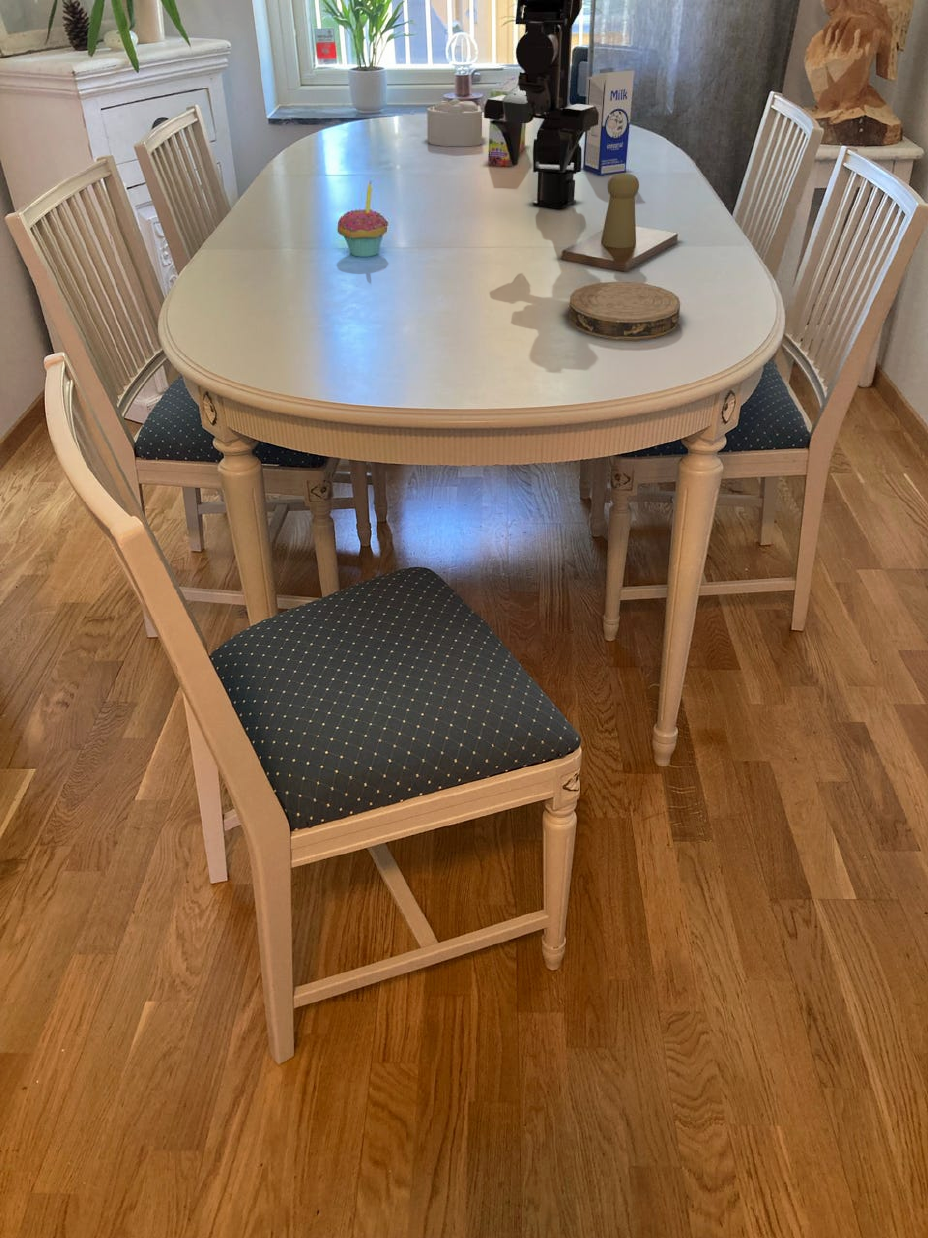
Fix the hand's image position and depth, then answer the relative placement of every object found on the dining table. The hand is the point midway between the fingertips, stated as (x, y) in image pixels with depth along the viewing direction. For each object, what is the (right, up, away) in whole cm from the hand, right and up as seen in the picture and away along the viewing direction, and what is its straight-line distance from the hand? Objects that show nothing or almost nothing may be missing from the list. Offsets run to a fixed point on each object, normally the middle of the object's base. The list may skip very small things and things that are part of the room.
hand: (538, 168), depth 173 cm
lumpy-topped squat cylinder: (-15, +40, +78) cm, 89 cm away
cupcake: (-30, -12, +6) cm, 33 cm away
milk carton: (+18, +23, +54) cm, 61 cm away
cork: (+14, -11, +5) cm, 18 cm away
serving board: (+15, -11, +6) cm, 20 cm away
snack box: (-2, +31, +65) cm, 72 cm away
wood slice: (+11, -31, -21) cm, 39 cm away
